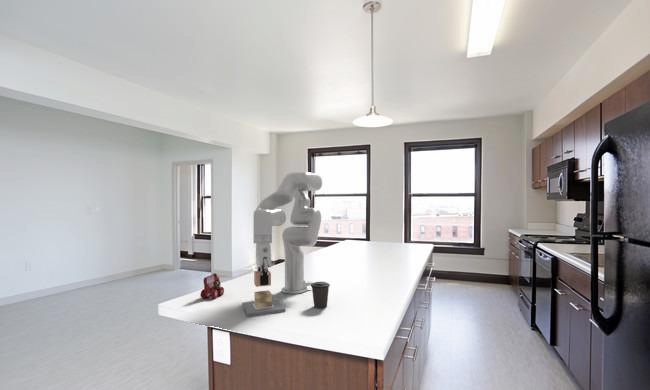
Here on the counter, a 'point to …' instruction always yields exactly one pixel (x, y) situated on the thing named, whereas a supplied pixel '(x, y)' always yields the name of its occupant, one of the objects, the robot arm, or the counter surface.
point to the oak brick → (263, 299)
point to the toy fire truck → (212, 287)
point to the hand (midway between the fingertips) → (262, 282)
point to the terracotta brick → (257, 278)
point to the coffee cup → (320, 294)
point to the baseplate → (254, 311)
